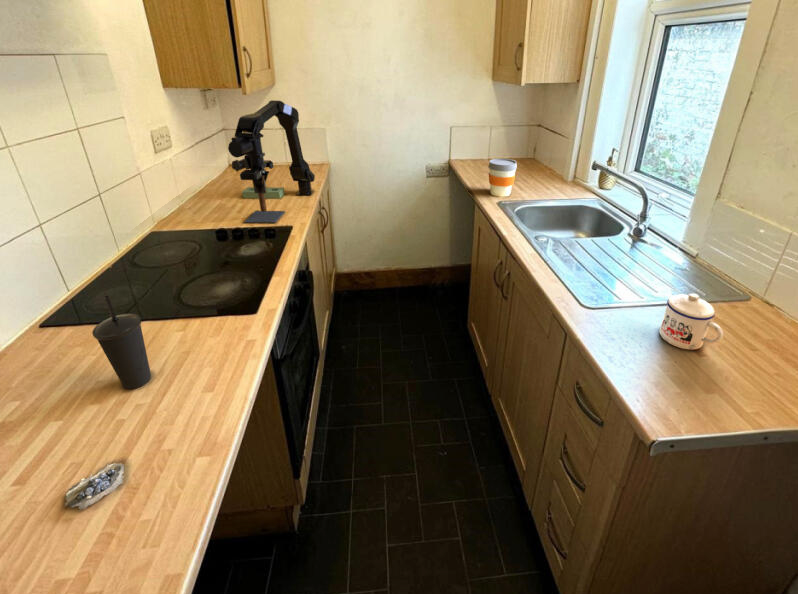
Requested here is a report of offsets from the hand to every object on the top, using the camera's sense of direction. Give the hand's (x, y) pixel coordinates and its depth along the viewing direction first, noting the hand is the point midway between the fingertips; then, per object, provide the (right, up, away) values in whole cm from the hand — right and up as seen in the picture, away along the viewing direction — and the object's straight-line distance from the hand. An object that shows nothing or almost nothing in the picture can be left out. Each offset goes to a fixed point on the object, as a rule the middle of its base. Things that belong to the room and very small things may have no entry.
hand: (260, 191), depth 161 cm
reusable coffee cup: (+100, +3, +33) cm, 105 cm away
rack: (-9, +1, +29) cm, 31 cm away
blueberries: (+12, -57, -98) cm, 113 cm away
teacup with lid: (+122, -42, -66) cm, 145 cm away
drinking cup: (+4, -47, -77) cm, 91 cm away
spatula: (0, -7, +3) cm, 8 cm away
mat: (0, -10, +4) cm, 11 cm away
